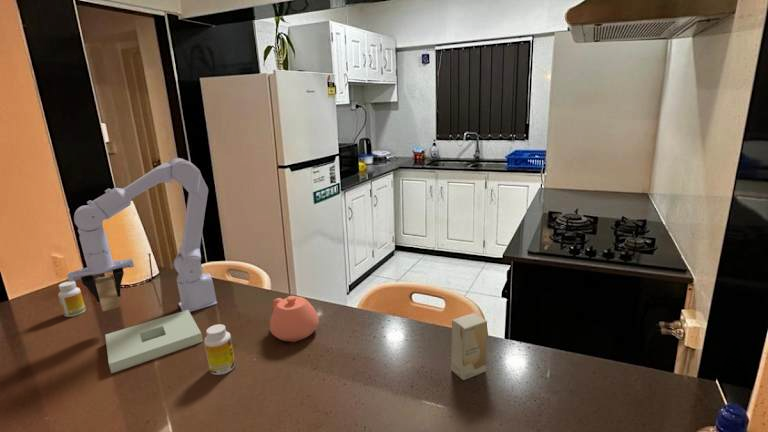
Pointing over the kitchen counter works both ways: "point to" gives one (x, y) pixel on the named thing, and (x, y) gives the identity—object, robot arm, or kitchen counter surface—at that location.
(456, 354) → the skincare box
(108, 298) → the oak peg
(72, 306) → the supplement bottle
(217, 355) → the supplement bottle
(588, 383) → the kitchen counter surface
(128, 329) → the socket board
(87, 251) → the robot arm
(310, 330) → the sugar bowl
